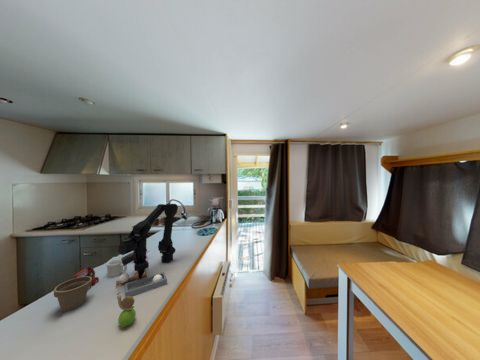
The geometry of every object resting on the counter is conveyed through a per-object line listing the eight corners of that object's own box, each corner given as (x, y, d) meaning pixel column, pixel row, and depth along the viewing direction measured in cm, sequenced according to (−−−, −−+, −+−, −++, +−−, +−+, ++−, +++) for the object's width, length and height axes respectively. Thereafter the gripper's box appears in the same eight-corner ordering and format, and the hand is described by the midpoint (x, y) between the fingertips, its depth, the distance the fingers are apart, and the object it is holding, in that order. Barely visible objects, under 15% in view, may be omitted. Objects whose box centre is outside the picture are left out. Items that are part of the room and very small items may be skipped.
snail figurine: (121, 318, 63) (122, 287, 63) (138, 317, 64) (139, 287, 64) (111, 331, 58) (112, 297, 58) (130, 330, 58) (130, 296, 59)
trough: (163, 278, 90) (163, 272, 90) (166, 286, 83) (166, 279, 83) (125, 291, 79) (125, 283, 79) (125, 300, 73) (125, 292, 73)
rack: (146, 274, 94) (146, 271, 94) (147, 280, 88) (147, 277, 88) (116, 283, 86) (116, 280, 86) (115, 290, 80) (115, 287, 80)
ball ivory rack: (129, 278, 88) (129, 270, 88) (129, 282, 84) (129, 274, 84) (119, 281, 85) (119, 273, 85) (118, 286, 82) (119, 277, 82)
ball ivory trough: (161, 280, 88) (161, 271, 88) (162, 284, 84) (163, 275, 84) (151, 283, 85) (152, 274, 85) (153, 287, 81) (153, 278, 81)
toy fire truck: (101, 281, 88) (101, 261, 88) (82, 296, 75) (83, 274, 75) (86, 282, 86) (87, 262, 87) (65, 298, 74) (66, 275, 74)
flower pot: (74, 296, 75) (75, 275, 75) (98, 297, 75) (98, 275, 75) (43, 317, 64) (44, 291, 64) (71, 318, 63) (72, 292, 64)
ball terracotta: (144, 274, 92) (144, 266, 92) (145, 278, 89) (145, 269, 89) (134, 277, 89) (134, 269, 90) (135, 281, 86) (135, 272, 86)
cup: (131, 272, 96) (131, 258, 96) (120, 280, 88) (120, 265, 88) (115, 271, 97) (115, 258, 97) (102, 279, 89) (102, 264, 89)
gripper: (122, 245, 92) (121, 272, 92) (122, 257, 77) (122, 290, 77) (144, 241, 99) (144, 266, 98) (149, 251, 84) (148, 281, 83)
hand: (139, 275), depth 89 cm, fingers closed on ball terracotta, 4 cm apart
